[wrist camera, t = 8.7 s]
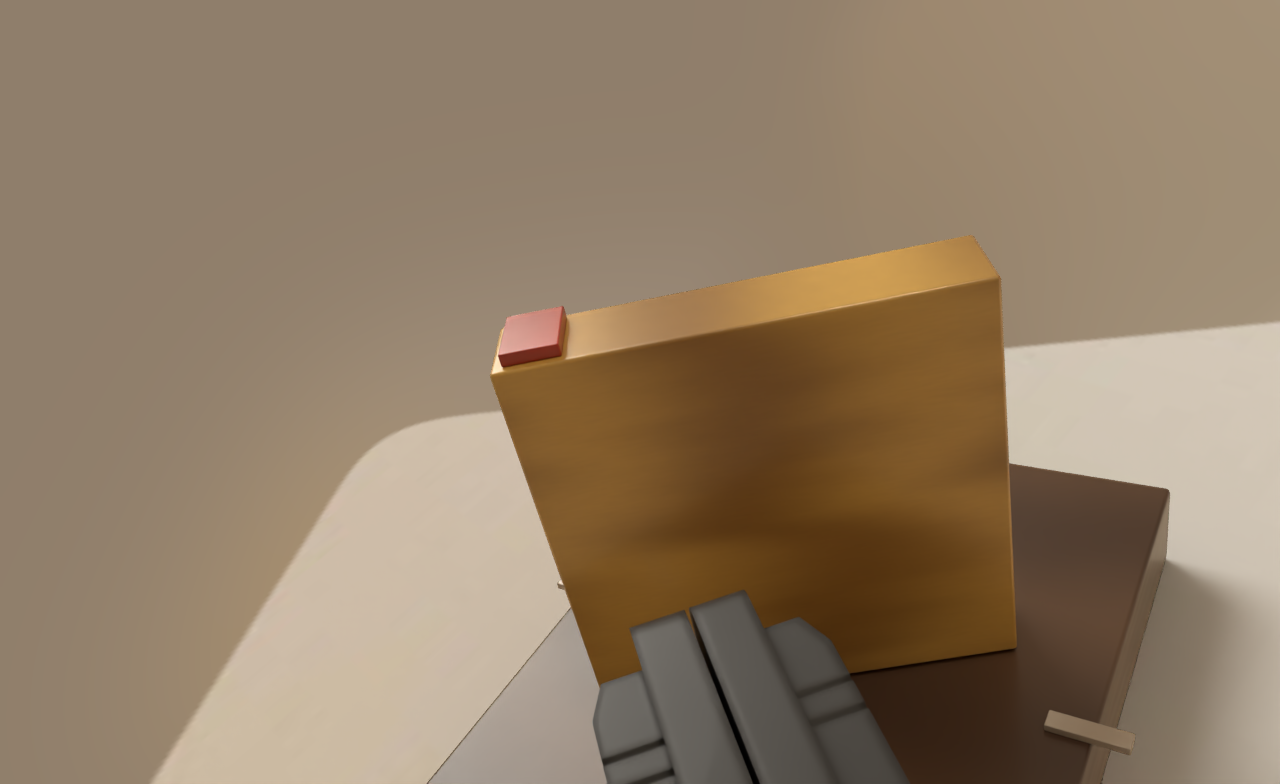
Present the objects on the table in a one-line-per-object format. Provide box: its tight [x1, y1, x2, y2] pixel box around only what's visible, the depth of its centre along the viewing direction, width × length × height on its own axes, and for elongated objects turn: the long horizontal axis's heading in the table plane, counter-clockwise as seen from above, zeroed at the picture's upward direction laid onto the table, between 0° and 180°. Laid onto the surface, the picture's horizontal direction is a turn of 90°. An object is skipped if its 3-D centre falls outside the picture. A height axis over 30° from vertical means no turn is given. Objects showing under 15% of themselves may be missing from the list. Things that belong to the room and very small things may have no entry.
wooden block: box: [490, 235, 1017, 688], centre depth 19 cm, size 8×2×8 cm, turn 90°
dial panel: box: [427, 463, 1170, 784], centre depth 21 cm, size 14×12×2 cm
